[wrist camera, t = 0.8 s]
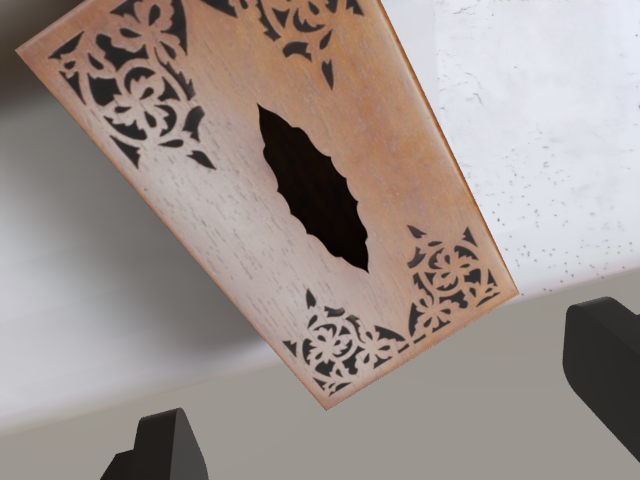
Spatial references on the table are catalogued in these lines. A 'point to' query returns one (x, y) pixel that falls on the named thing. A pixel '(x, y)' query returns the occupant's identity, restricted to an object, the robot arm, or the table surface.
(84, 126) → the tissue box cover
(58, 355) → the table surface
